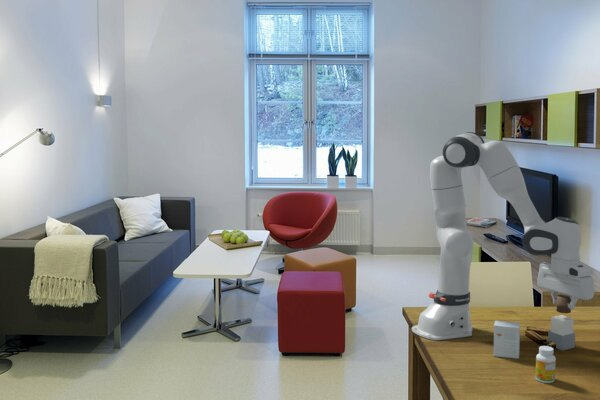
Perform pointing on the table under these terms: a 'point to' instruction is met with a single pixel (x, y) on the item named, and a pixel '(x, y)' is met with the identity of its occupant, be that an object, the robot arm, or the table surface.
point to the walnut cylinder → (563, 303)
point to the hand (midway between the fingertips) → (563, 306)
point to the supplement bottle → (545, 365)
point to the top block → (562, 325)
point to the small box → (506, 339)
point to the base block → (562, 340)
